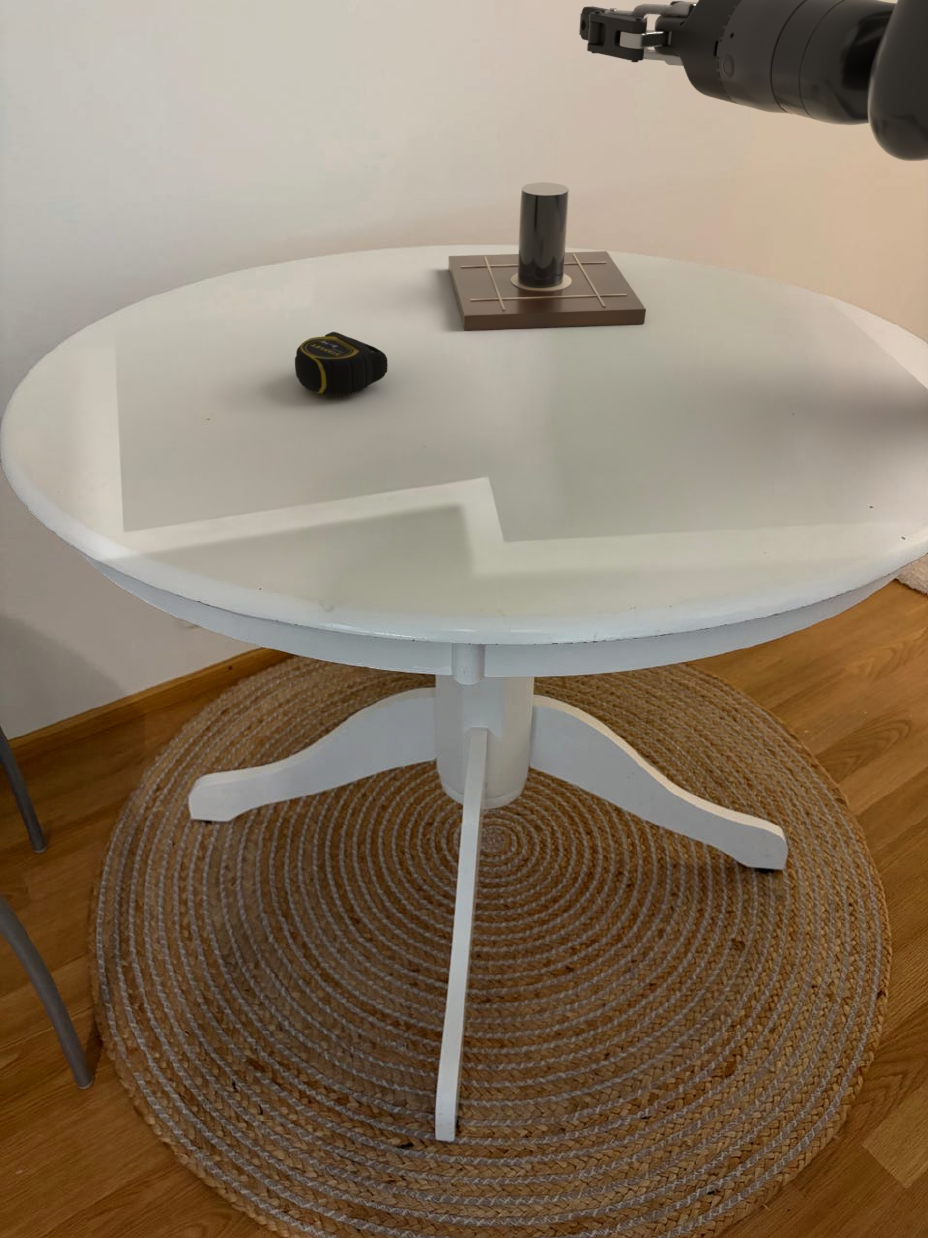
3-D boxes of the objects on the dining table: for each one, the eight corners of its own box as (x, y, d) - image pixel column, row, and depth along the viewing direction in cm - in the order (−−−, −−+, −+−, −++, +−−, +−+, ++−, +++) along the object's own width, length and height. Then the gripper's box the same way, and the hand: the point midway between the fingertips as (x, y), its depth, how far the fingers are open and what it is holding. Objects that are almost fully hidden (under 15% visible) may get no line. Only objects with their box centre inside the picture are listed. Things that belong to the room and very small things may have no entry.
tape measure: (392, 386, 83) (391, 345, 81) (332, 411, 79) (329, 369, 77) (341, 364, 87) (338, 324, 85) (281, 387, 83) (276, 346, 81)
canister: (558, 271, 102) (564, 181, 96) (566, 287, 98) (573, 194, 93) (514, 272, 102) (517, 182, 96) (520, 288, 98) (524, 195, 92)
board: (605, 264, 109) (606, 249, 108) (644, 323, 95) (646, 308, 94) (448, 269, 107) (448, 254, 106) (464, 330, 93) (464, 314, 92)
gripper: (855, -24, 66) (705, -41, 77) (691, -15, 61) (556, -34, 72) (829, 97, 71) (691, 65, 82) (675, 116, 66) (550, 78, 77)
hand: (628, 18), depth 77 cm, fingers open, 8 cm apart
